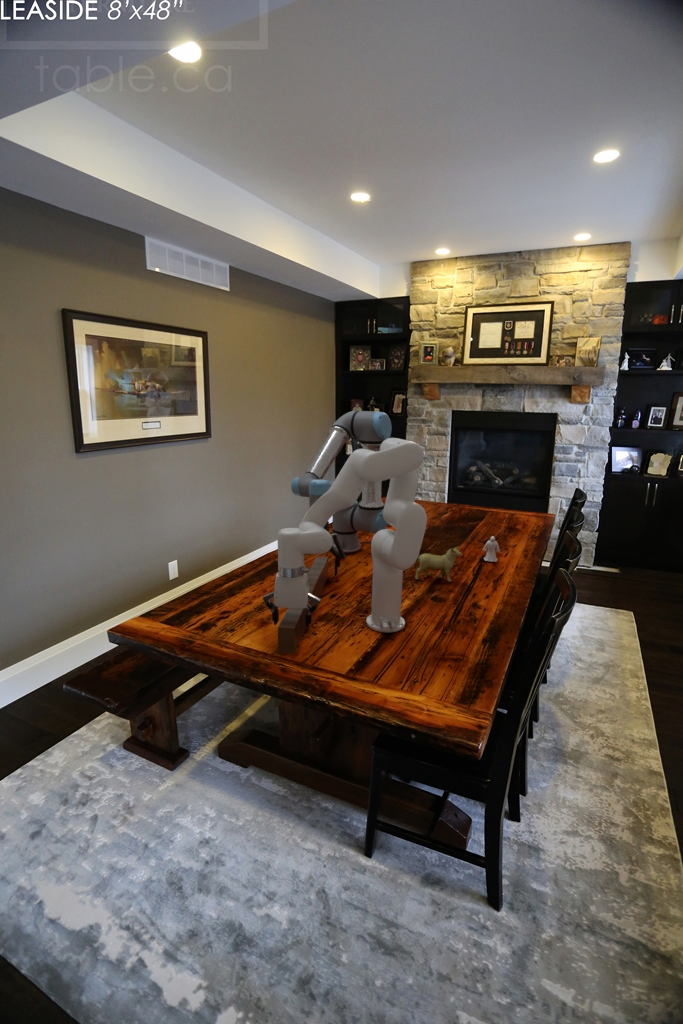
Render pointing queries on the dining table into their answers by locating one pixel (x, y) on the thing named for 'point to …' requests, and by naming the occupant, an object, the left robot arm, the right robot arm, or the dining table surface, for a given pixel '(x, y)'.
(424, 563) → the toy
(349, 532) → the left robot arm
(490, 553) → the figurine
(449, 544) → the dining table surface
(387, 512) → the right robot arm
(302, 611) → the bar
